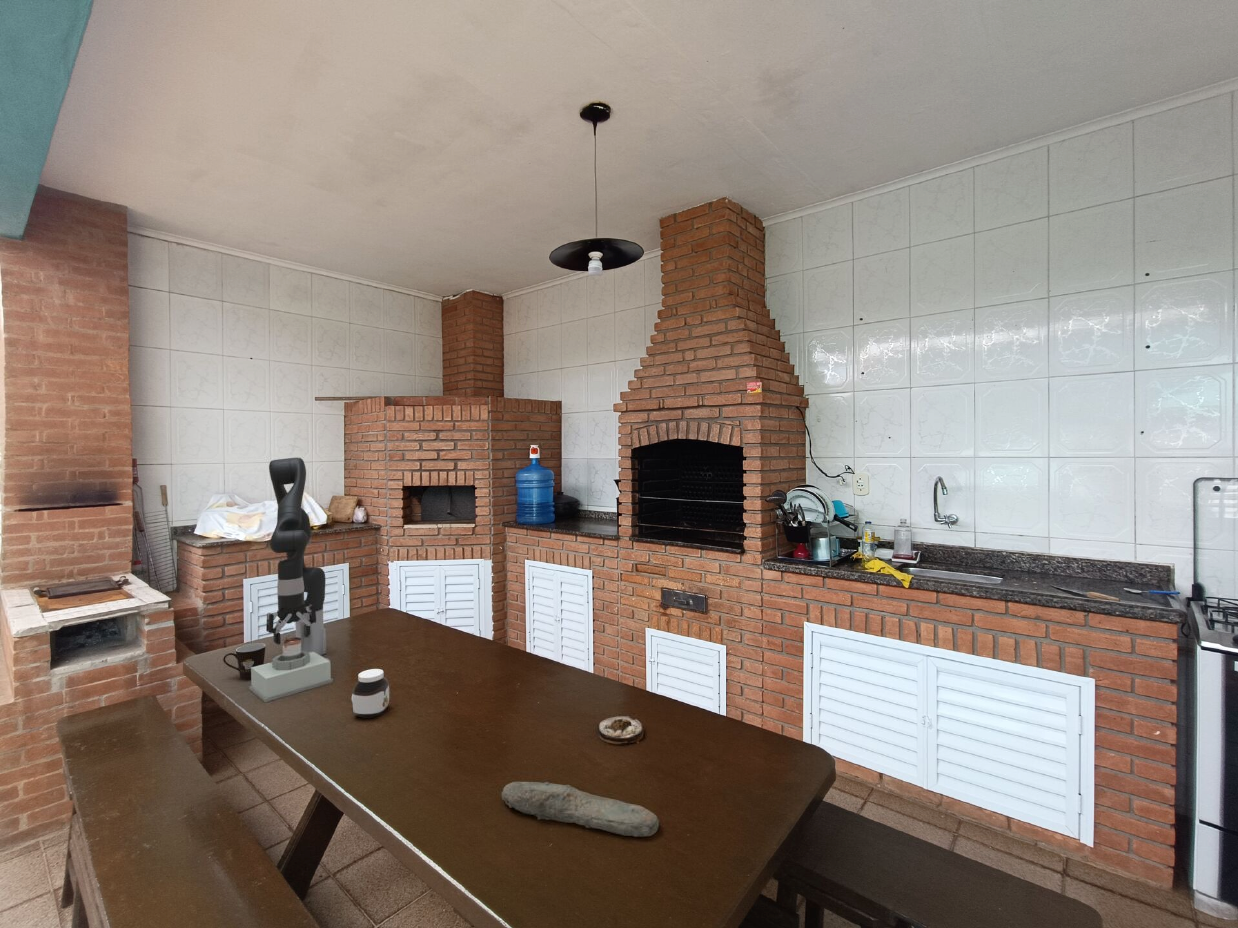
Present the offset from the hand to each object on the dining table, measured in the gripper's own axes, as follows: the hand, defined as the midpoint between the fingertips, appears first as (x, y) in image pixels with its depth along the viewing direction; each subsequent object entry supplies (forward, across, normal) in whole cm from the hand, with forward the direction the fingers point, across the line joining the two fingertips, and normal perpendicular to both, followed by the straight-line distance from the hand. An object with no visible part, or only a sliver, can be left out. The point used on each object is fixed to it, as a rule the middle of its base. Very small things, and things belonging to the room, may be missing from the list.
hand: (292, 640), depth 186 cm
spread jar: (+15, -7, +37) cm, 41 cm away
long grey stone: (+15, -12, +118) cm, 120 cm away
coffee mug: (+15, +7, -20) cm, 26 cm away
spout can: (+8, 0, 0) cm, 8 cm away
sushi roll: (+15, -44, +104) cm, 114 cm away
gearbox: (+15, +1, 0) cm, 15 cm away
